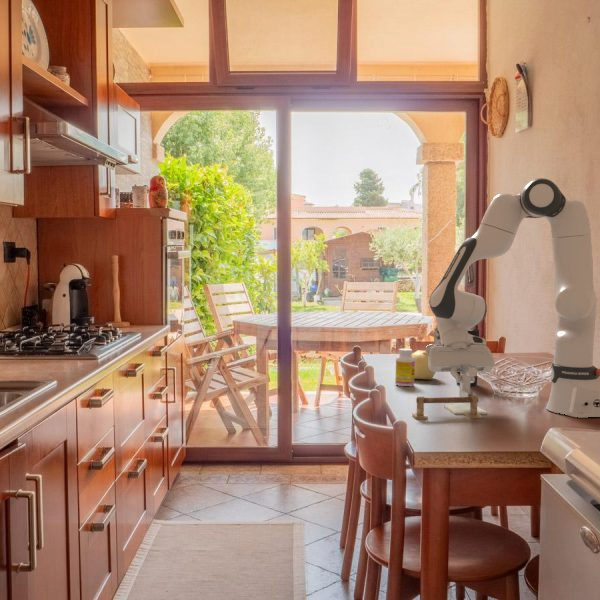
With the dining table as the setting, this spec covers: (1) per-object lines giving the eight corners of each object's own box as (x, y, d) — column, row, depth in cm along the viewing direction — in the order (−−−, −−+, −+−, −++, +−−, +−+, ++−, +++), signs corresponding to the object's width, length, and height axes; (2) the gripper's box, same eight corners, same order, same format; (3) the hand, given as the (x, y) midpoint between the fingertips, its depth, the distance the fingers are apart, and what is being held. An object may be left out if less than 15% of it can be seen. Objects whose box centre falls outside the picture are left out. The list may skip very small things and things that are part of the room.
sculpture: (443, 380, 268) (444, 351, 267) (414, 382, 264) (415, 353, 263) (426, 375, 279) (427, 347, 278) (399, 377, 274) (399, 348, 273)
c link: (466, 396, 221) (468, 363, 220) (475, 401, 214) (477, 368, 213) (459, 396, 221) (460, 363, 220) (467, 401, 214) (469, 368, 213)
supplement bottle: (413, 387, 254) (414, 351, 253) (394, 386, 256) (395, 350, 255) (414, 384, 261) (415, 348, 260) (395, 383, 262) (396, 347, 261)
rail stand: (477, 415, 214) (477, 395, 214) (481, 418, 211) (482, 397, 210) (412, 416, 212) (412, 395, 211) (415, 419, 208) (416, 398, 208)
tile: (475, 406, 226) (475, 404, 226) (487, 414, 216) (487, 412, 216) (443, 406, 224) (443, 405, 224) (454, 414, 215) (454, 412, 215)
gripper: (426, 338, 224) (434, 375, 215) (490, 339, 227) (501, 375, 218) (421, 350, 229) (429, 387, 220) (484, 351, 231) (494, 387, 223)
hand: (465, 381), depth 219 cm, fingers closed on c link, 2 cm apart
